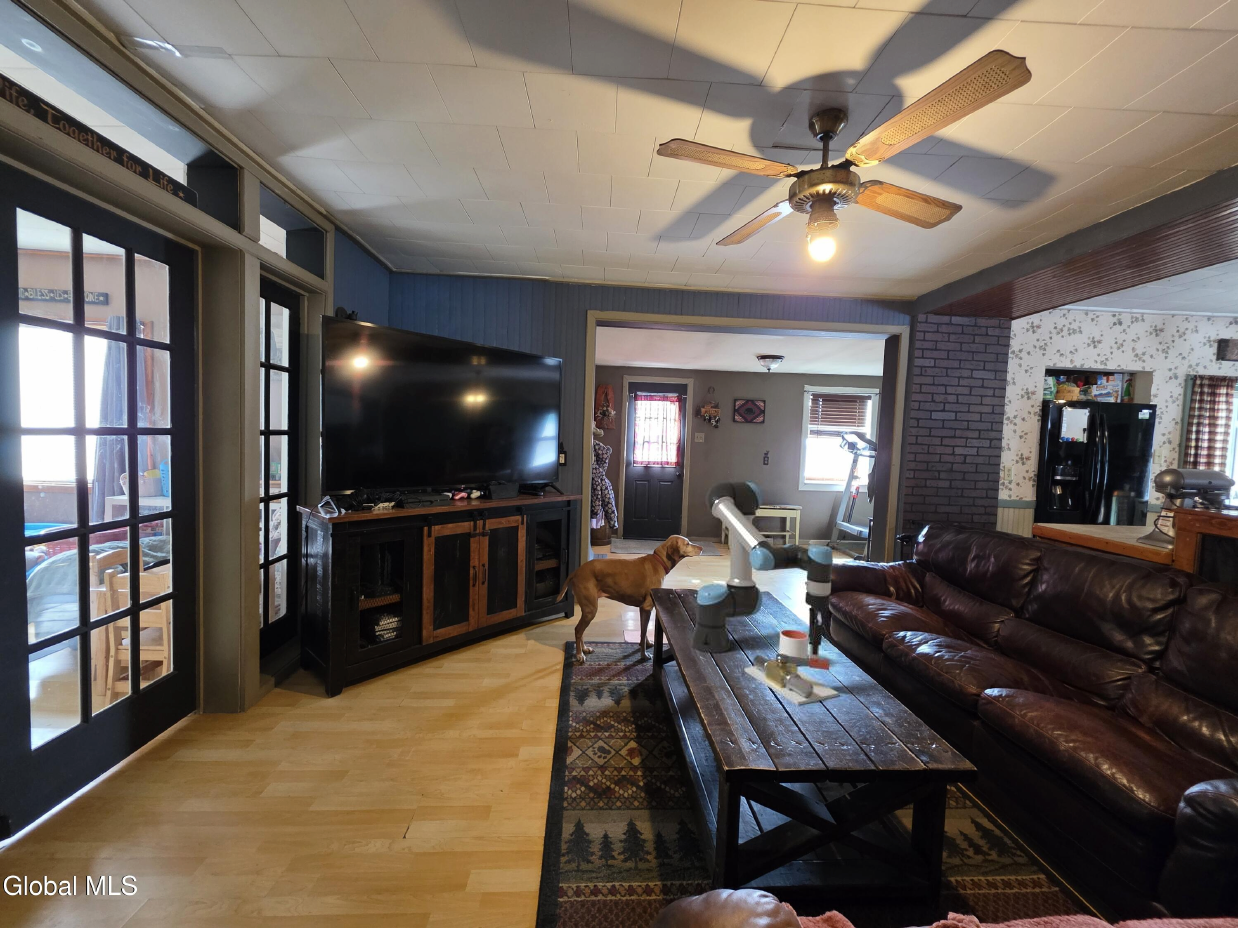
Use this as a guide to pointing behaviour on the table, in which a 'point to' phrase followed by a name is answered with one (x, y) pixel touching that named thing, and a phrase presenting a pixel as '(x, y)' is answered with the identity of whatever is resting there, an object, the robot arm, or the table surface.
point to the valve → (783, 675)
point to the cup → (793, 643)
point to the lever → (803, 661)
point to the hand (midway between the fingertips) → (813, 662)
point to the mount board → (818, 690)
